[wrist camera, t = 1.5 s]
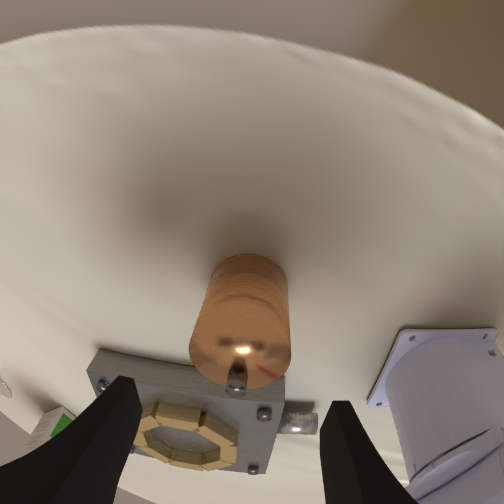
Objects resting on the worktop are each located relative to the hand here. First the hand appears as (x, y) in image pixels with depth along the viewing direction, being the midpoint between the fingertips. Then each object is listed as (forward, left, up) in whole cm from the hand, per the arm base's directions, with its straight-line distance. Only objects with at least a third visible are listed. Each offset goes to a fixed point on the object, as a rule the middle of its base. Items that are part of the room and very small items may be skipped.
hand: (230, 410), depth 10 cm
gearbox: (+2, +13, -9) cm, 16 cm away
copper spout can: (0, 0, -8) cm, 9 cm away
